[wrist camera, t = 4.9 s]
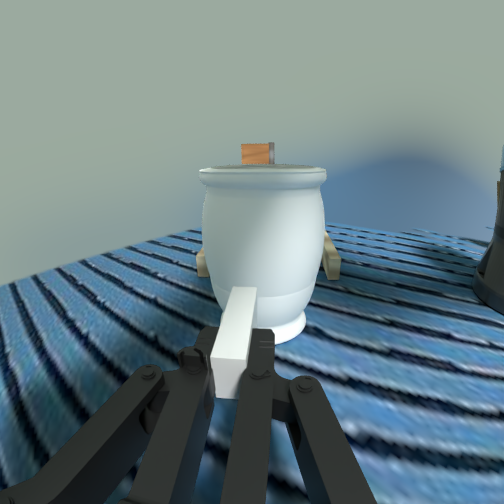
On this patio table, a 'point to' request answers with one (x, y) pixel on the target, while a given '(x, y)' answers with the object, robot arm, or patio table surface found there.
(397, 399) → the patio table surface
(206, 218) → the jar
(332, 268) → the box
